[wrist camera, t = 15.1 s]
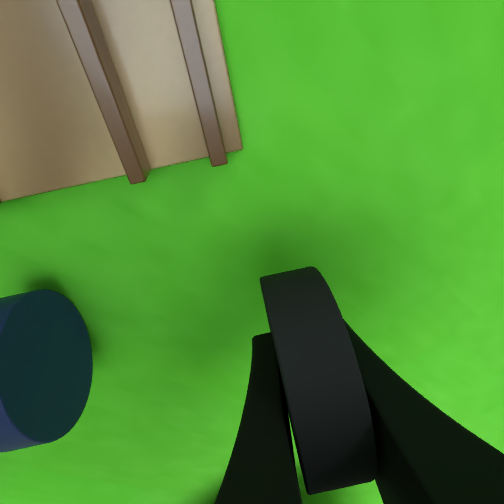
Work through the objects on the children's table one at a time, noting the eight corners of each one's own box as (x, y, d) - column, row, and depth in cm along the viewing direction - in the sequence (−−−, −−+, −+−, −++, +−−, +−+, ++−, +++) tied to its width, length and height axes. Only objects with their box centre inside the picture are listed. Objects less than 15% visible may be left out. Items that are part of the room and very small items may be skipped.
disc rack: (-89, 216, 13) (-136, 243, 12) (-262, 9, 10) (-373, 0, 8) (241, 144, 14) (247, 159, 12) (196, -89, 10) (193, -121, 8)
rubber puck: (276, 360, 15) (315, 535, 9) (251, 242, 12) (289, 406, 6) (315, 352, 15) (376, 522, 9) (300, 232, 12) (382, 386, 6)
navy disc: (73, 352, 19) (26, 478, 14) (4, 269, 15) (-98, 400, 10) (103, 345, 19) (67, 469, 14) (42, 260, 15) (-39, 388, 10)
